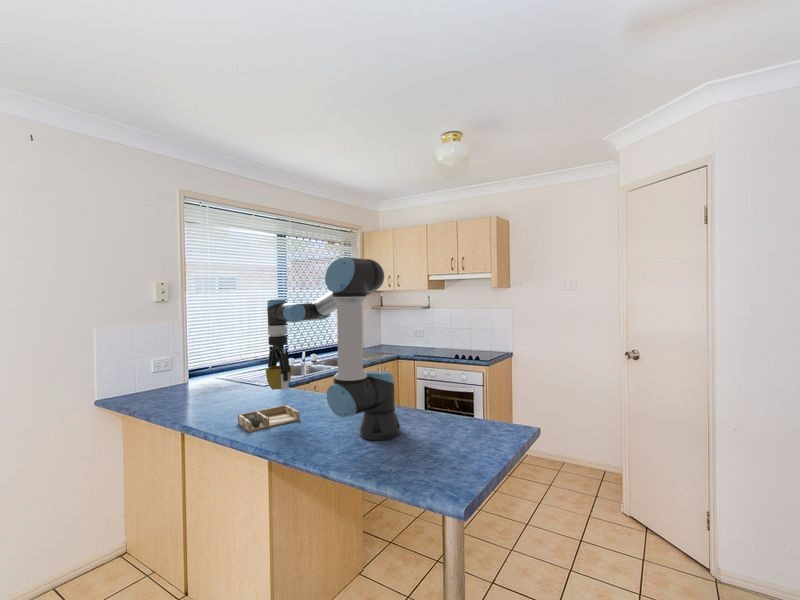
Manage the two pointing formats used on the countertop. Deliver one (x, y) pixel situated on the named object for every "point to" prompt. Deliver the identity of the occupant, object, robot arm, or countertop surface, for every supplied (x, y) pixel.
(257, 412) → the divided wooden tray
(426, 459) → the countertop surface
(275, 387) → the flower pot
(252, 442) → the countertop surface
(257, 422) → the cord stub
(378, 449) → the countertop surface
